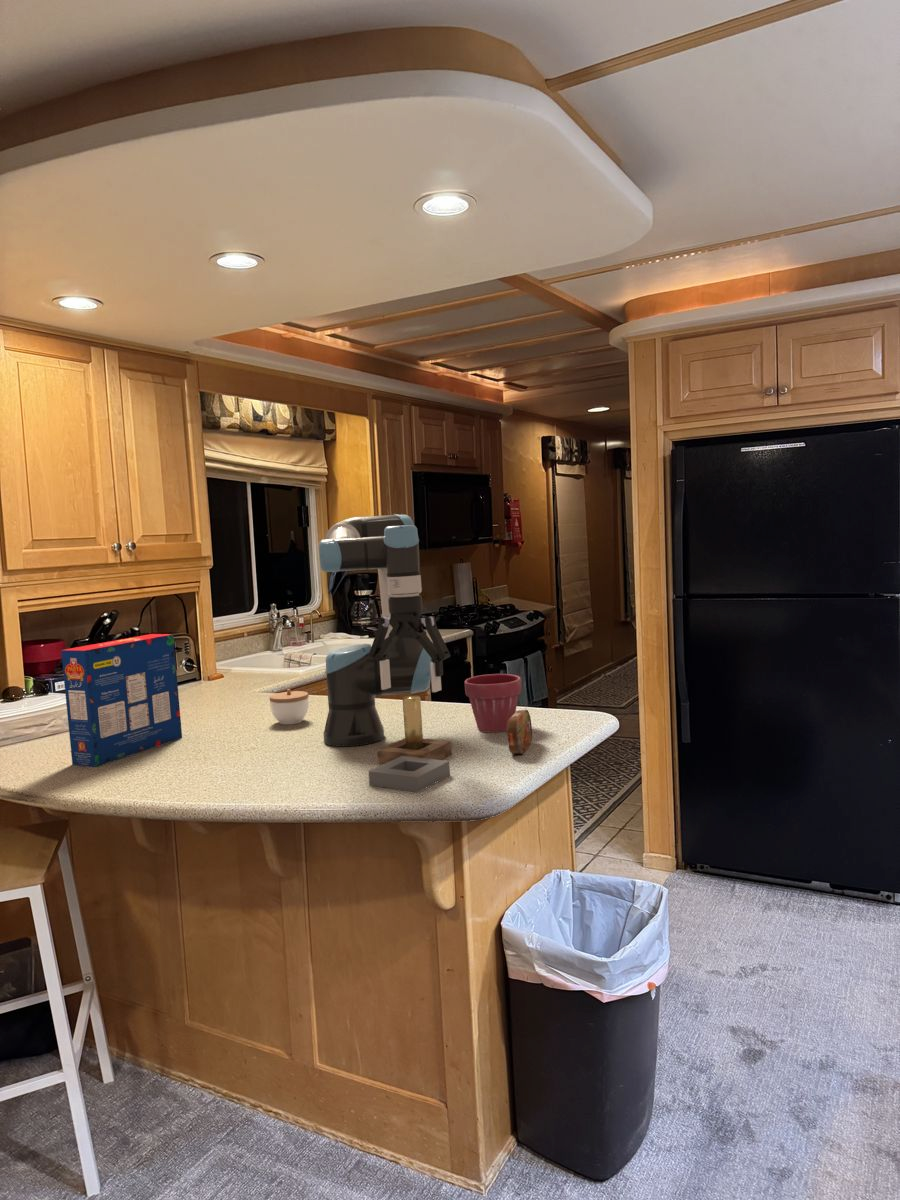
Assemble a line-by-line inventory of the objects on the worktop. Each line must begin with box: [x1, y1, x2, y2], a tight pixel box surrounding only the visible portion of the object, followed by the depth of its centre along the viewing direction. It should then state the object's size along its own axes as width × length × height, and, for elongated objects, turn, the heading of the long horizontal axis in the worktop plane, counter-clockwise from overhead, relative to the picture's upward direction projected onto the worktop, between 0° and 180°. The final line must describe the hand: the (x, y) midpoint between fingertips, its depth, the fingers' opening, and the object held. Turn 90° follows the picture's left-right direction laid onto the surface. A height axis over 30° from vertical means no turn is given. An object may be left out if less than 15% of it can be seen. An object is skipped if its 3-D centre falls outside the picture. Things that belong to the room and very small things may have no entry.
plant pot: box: [464, 673, 522, 733], centre depth 210 cm, size 14×14×13 cm
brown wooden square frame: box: [376, 737, 453, 765], centre depth 187 cm, size 12×12×3 cm
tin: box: [506, 709, 533, 755], centre depth 189 cm, size 15×3×8 cm, turn 163°
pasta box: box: [60, 633, 183, 768], centre depth 209 cm, size 28×8×28 cm, turn 154°
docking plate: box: [368, 756, 451, 793], centre depth 170 cm, size 12×12×3 cm
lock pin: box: [402, 695, 424, 750], centre depth 186 cm, size 4×4×14 cm
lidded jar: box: [269, 688, 310, 726], centre depth 232 cm, size 11×11×9 cm
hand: (411, 689), depth 185 cm, fingers open, 13 cm apart
